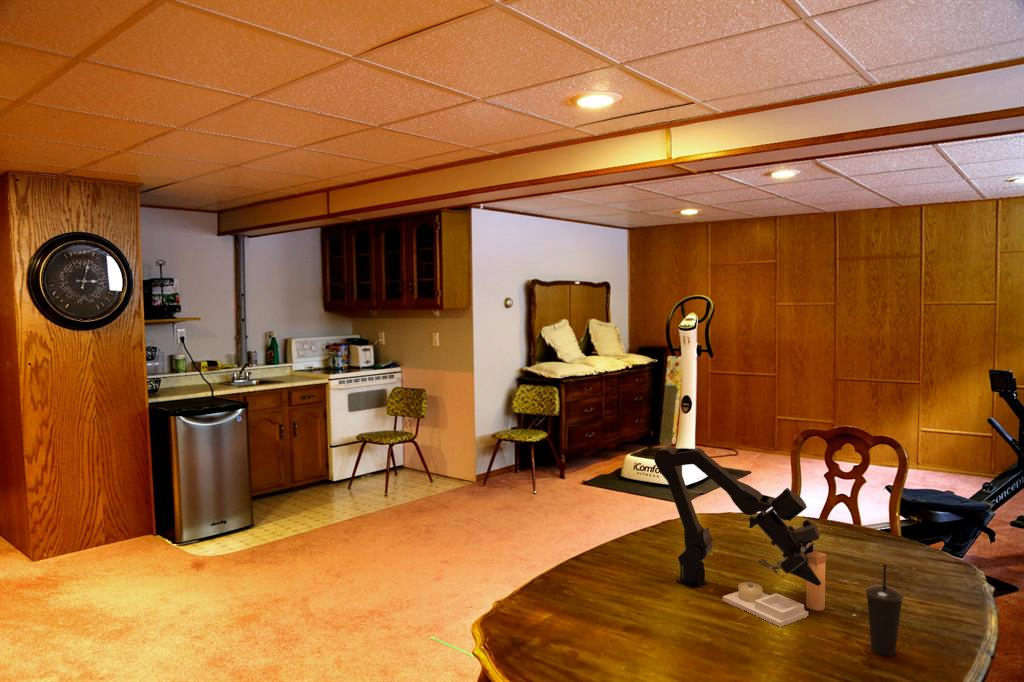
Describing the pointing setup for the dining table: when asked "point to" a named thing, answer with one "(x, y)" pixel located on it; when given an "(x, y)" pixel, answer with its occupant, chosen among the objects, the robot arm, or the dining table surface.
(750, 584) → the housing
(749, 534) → the dining table surface
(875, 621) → the drinking cup
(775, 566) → the hacksaw
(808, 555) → the orange square-topped peg
